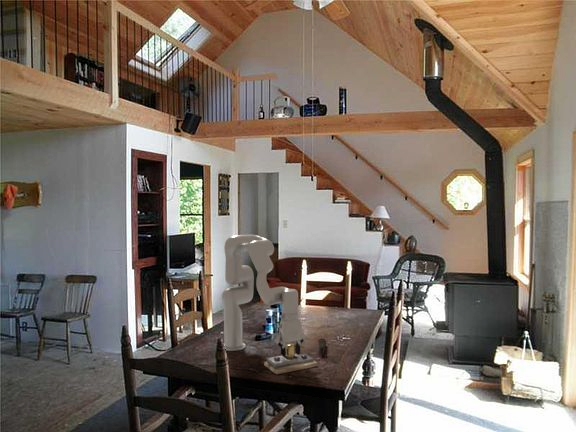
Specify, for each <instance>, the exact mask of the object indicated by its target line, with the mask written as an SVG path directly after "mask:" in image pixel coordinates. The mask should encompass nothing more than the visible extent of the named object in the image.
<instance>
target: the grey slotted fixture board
mask: <svg viewBox="0 0 576 432" xmlns="http://www.w3.org/2000/svg"><path fill="white" fill-rule="evenodd" d="M266 361H267V363H268V364H269V365H270V366H272V367H273V368H274V369H277V368H282V367H288V366H293V365H298V364H303V363H308V362H313V361H315V359H314V358H313V357H312V356H310V355H308V354H307V353H303V354H301V353H300V354H297V353H295V359H291V360H287V359H286V357H283V356H282V355H278V356H273V357H267V360H266Z"/></svg>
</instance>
